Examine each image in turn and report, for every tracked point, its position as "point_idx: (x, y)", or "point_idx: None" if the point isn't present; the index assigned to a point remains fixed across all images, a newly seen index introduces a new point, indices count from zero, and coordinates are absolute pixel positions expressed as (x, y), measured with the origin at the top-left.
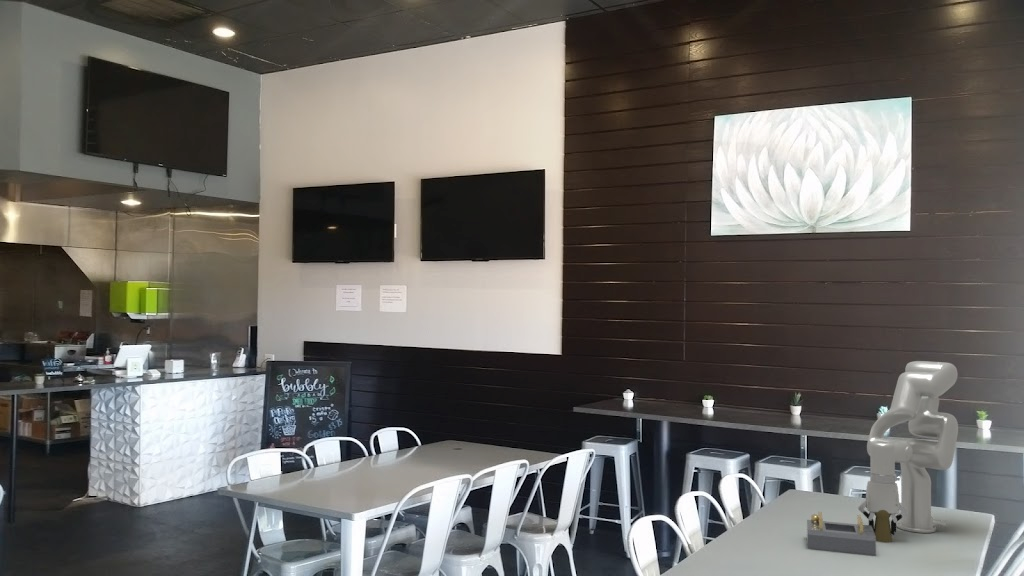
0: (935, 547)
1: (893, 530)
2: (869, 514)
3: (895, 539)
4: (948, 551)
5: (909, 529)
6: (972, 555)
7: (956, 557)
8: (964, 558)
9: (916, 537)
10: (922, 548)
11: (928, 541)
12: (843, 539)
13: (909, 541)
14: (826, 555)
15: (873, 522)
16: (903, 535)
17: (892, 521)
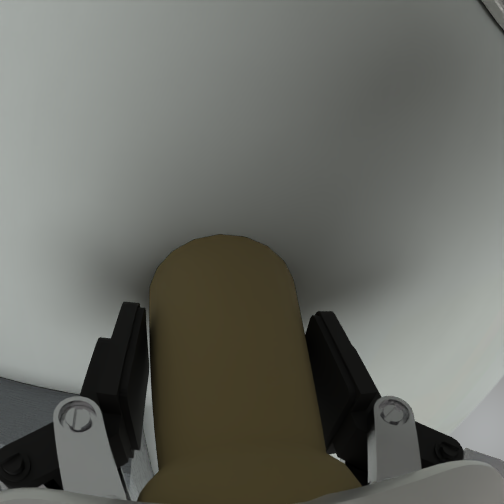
0: (462, 340)
1: None
2: (71, 459)
3: (335, 254)
4: (467, 372)
5: (498, 13)
6: (498, 377)
7: (438, 421)
8: (453, 418)
9: (487, 156)
10: (396, 382)
11: (498, 238)
12: None
13: (408, 276)
14: None
15: (136, 443)
16: (436, 110)
17: (336, 449)
